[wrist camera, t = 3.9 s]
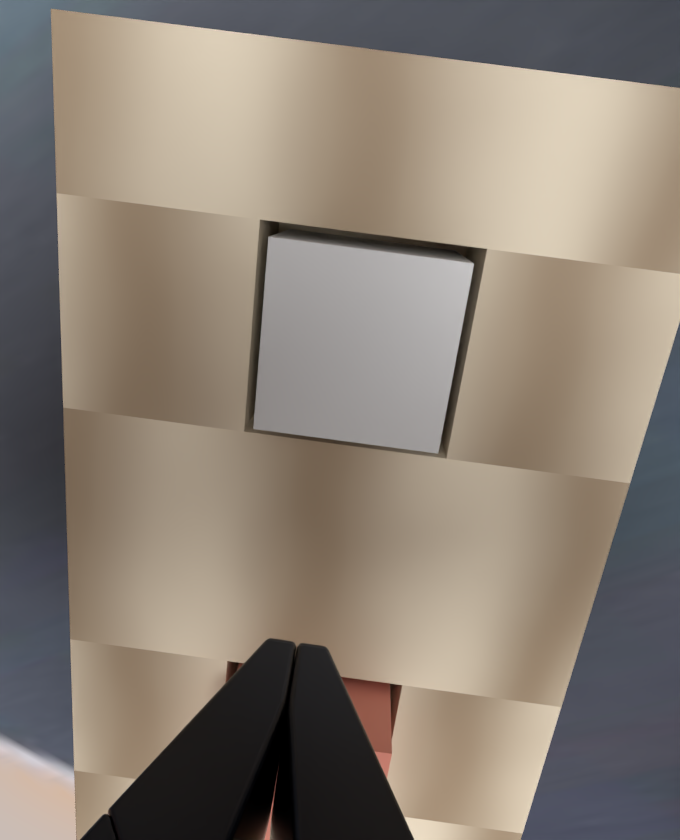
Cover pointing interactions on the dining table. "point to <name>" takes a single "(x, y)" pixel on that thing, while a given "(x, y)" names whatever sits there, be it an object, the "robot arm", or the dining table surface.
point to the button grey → (359, 339)
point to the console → (340, 460)
